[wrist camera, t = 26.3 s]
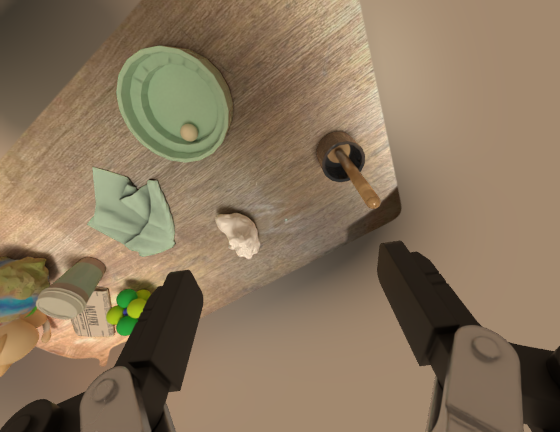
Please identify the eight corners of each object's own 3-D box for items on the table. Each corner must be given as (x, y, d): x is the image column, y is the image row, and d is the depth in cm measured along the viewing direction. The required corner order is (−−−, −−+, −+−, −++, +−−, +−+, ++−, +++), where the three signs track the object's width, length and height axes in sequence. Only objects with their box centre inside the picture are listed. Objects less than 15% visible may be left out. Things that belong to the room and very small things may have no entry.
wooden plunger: (348, 136, 43) (397, 189, 26) (345, 158, 45) (389, 219, 28) (326, 137, 43) (360, 190, 26) (324, 159, 45) (355, 220, 28)
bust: (260, 233, 58) (285, 243, 48) (240, 258, 56) (261, 274, 46) (224, 199, 52) (244, 203, 42) (200, 226, 50) (215, 237, 41)
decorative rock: (-21, 347, 49) (11, 315, 45) (-90, 292, 47) (-63, 253, 42) (48, 302, 62) (79, 274, 58) (-2, 257, 60) (26, 224, 55)
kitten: (8, 291, 63) (-56, 349, 51) (52, 298, 65) (1, 355, 53) (22, 322, 71) (-31, 379, 58) (60, 327, 73) (17, 384, 60)
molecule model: (130, 315, 65) (150, 335, 61) (98, 318, 57) (118, 341, 53) (148, 286, 66) (168, 303, 63) (119, 285, 58) (140, 305, 55)
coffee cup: (64, 257, 57) (21, 300, 47) (96, 249, 56) (58, 292, 46) (89, 280, 62) (55, 324, 52) (119, 273, 61) (89, 317, 51)
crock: (354, 128, 42) (365, 138, 37) (354, 165, 46) (364, 178, 41) (315, 134, 43) (321, 145, 38) (317, 170, 47) (323, 184, 42)
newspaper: (56, 280, 61) (50, 288, 59) (111, 284, 65) (106, 292, 63) (71, 329, 73) (67, 337, 71) (117, 330, 76) (113, 338, 74)
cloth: (149, 263, 59) (144, 271, 57) (57, 204, 49) (47, 210, 47) (207, 222, 53) (204, 228, 51) (115, 143, 42) (107, 147, 40)
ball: (190, 117, 40) (193, 132, 42) (174, 124, 38) (179, 138, 41) (199, 126, 39) (202, 140, 41) (184, 132, 37) (188, 147, 40)
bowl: (217, 37, 35) (208, 35, 30) (243, 141, 43) (239, 153, 38) (117, 57, 35) (93, 58, 31) (162, 155, 44) (148, 169, 39)
